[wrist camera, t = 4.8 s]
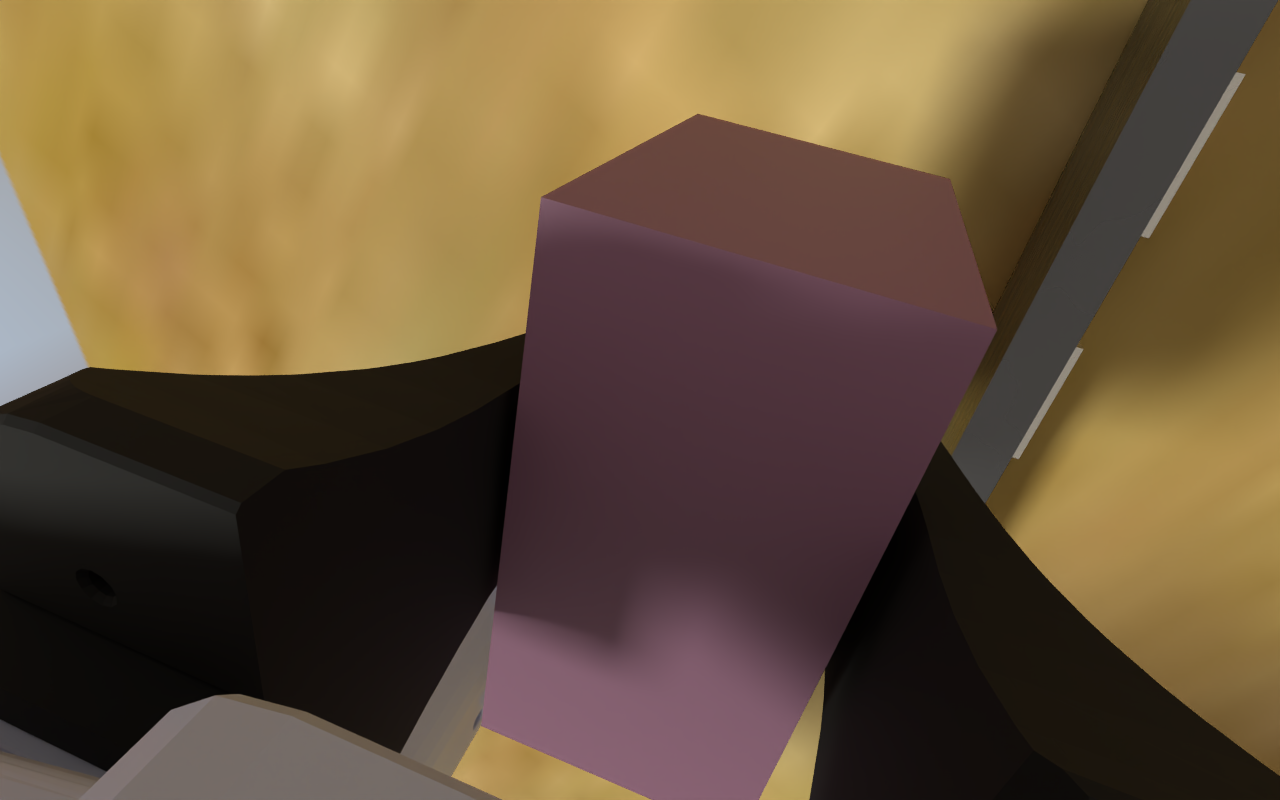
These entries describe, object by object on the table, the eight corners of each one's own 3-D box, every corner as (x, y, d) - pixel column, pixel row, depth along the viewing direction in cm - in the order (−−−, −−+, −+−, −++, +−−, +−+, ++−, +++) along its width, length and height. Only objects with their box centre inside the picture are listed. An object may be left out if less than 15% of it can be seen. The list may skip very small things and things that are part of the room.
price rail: (899, 612, 22) (899, 672, 20) (852, 595, 23) (848, 652, 21) (1270, -52, 13) (1338, -63, 11) (1182, -69, 13) (1233, -82, 11)
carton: (959, 181, 11) (1016, 334, 6) (799, 561, 15) (750, 842, 10) (698, 113, 11) (541, 197, 6) (614, 494, 16) (480, 725, 11)
